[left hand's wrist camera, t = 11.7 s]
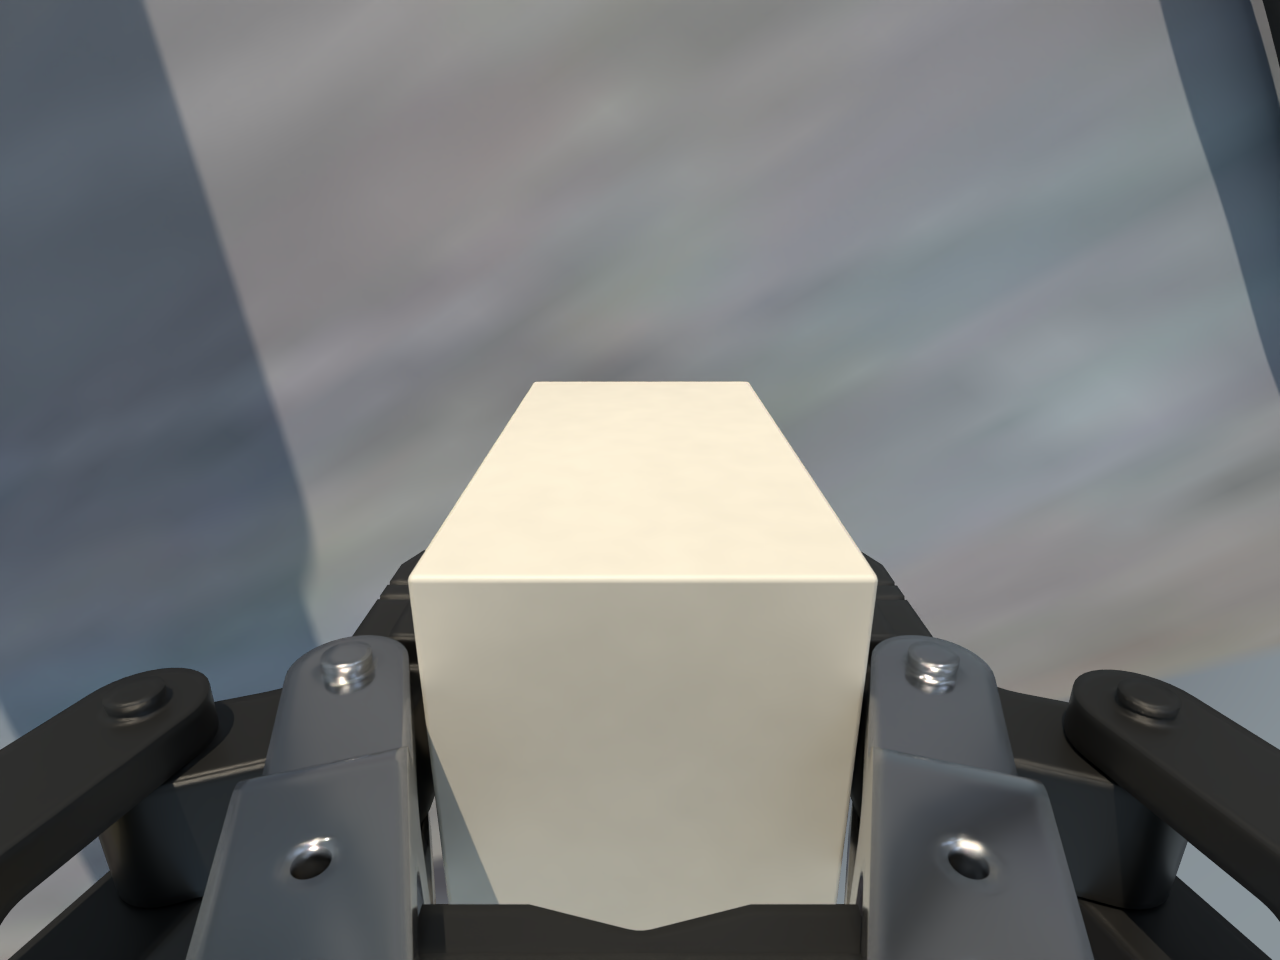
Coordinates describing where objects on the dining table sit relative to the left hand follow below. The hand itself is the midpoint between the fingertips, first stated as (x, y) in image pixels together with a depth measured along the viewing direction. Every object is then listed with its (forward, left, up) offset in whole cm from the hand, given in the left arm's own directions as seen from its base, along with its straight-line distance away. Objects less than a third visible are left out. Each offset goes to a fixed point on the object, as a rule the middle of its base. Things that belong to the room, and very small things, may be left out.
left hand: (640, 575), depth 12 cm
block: (0, 0, -4) cm, 4 cm away
